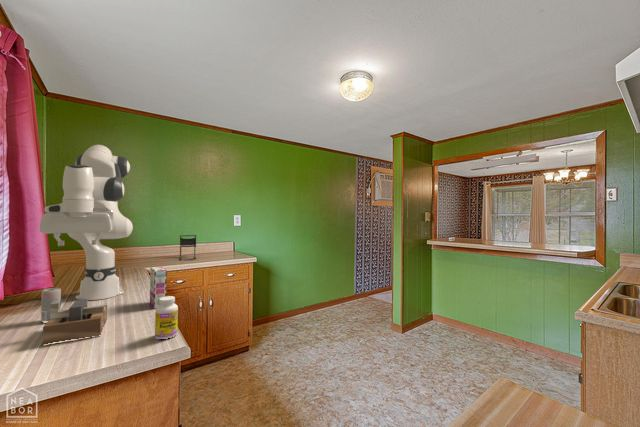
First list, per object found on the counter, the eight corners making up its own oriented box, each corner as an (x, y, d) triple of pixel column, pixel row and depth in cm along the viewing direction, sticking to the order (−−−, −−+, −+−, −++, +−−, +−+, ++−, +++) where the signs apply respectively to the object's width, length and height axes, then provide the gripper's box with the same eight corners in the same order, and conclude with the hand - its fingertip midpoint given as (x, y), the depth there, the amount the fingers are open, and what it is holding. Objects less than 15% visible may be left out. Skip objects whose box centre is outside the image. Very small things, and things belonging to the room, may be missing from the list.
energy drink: (59, 317, 109) (59, 286, 109) (61, 320, 106) (62, 289, 106) (40, 321, 105) (40, 289, 105) (42, 325, 102) (42, 292, 102)
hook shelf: (57, 327, 99) (58, 297, 99) (106, 320, 107) (107, 291, 107) (42, 346, 86) (43, 310, 86) (100, 336, 93) (100, 303, 93)
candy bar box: (166, 307, 123) (167, 269, 123) (153, 309, 119) (154, 271, 119) (161, 300, 131) (161, 265, 131) (149, 302, 128) (149, 267, 128)
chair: (179, 260, 239) (179, 235, 239) (179, 257, 254) (180, 233, 254) (196, 259, 244) (196, 234, 244) (195, 257, 260) (195, 233, 260)
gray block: (76, 322, 100) (76, 299, 100) (87, 320, 101) (87, 298, 101) (68, 332, 91) (69, 308, 91) (80, 330, 93) (81, 306, 93)
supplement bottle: (156, 342, 89) (156, 302, 89) (153, 335, 94) (154, 297, 94) (179, 337, 93) (179, 298, 93) (175, 330, 98) (176, 294, 98)
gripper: (114, 208, 111) (113, 243, 111) (44, 207, 101) (43, 245, 101) (112, 208, 106) (111, 244, 106) (38, 207, 95) (37, 247, 95)
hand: (78, 245), depth 103 cm, fingers open, 8 cm apart
